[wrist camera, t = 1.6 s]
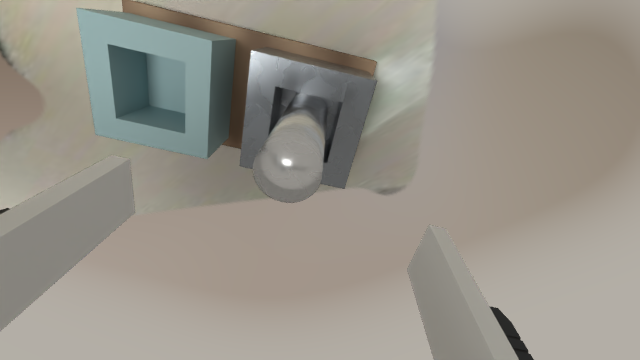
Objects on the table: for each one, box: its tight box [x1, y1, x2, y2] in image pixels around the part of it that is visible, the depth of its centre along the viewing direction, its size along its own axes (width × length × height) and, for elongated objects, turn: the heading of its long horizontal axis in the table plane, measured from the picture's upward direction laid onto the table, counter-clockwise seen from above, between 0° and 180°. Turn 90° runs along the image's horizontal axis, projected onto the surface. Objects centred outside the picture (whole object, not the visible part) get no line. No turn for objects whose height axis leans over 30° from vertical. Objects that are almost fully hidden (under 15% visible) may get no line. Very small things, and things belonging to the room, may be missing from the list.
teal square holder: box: [76, 8, 236, 159], centre depth 26 cm, size 10×10×6 cm
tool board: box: [122, 0, 377, 149], centre depth 30 cm, size 24×12×2 cm, turn 77°
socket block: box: [240, 47, 377, 189], centre depth 27 cm, size 10×10×6 cm
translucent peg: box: [253, 93, 327, 203], centre depth 23 cm, size 4×4×14 cm
